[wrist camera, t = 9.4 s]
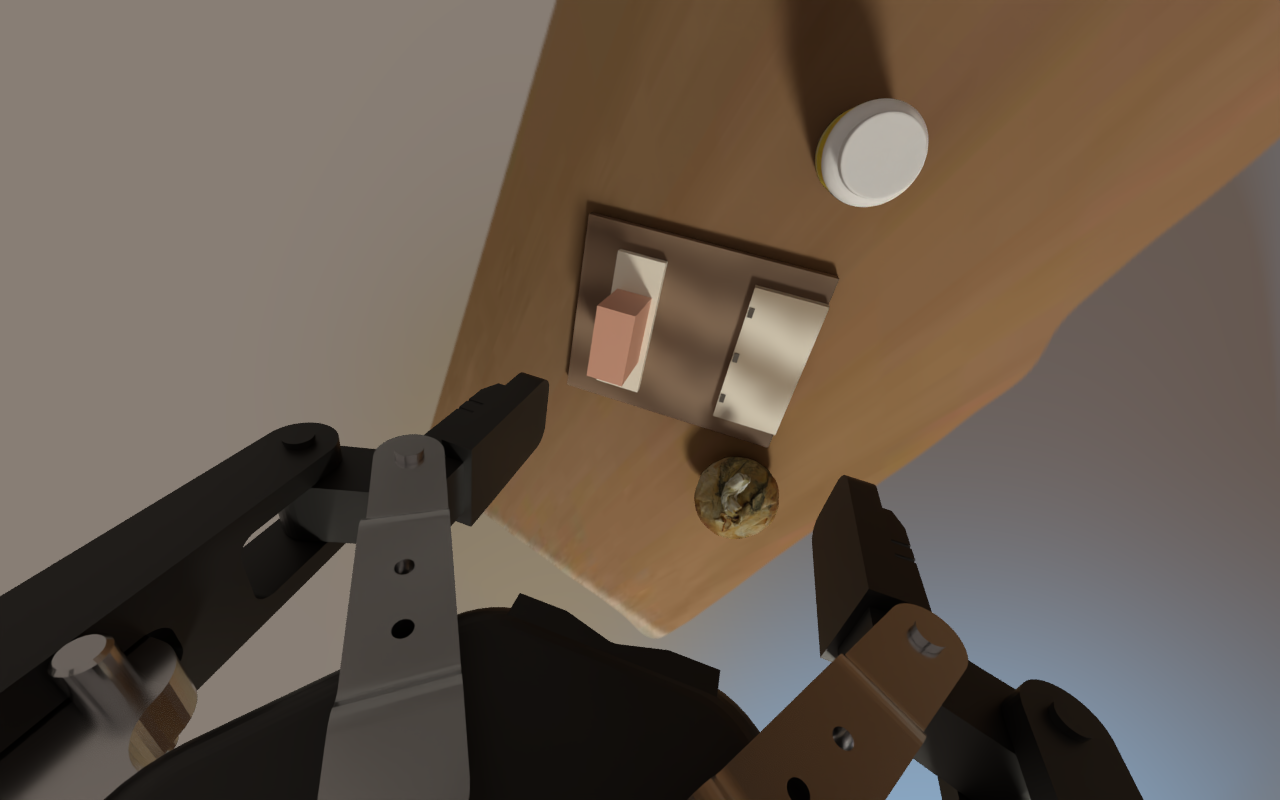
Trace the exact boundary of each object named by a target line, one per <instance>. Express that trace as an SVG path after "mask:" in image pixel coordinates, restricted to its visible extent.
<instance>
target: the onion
mask: <svg viewBox="0 0 1280 800" xmlns="http://www.w3.org/2000/svg"><path fill="white" fill-rule="evenodd" d="M778 499H779V490H778V485H777V483H776V480H775V479H774V478H773V476H772V475H771V473H770V472H769V471H768V470H767V469H766V468H765V467H764V466H762V465H761V464H759V463H758V462H756V461H754V460H751V459H749V458H741V457H726V458H724V459H721V460H719V461H717V462H715V463H713V464H712V465H710V466H709V467H708V468H707V469H706V470H705V471H704V472H703V473H702V474H701V476H700V479H699V482H698V485H697V487H696V491H695V497H694V500H695V507H696V511H697V514H698V516H699V518H700V519H701V521H702V522H703V523H704V525H705V526H706V527H707V528H708V529H710V530H711V531H712V532H714V533H715V534H716V535H718V536H721V537H725V538H730V539H740V538H746V537H749V536H752V535H755V534H757V533H759V532H761V531H762V530H763V529H765V528H766V527H767V526H768V525H770V524H771V523H772V521H773V519H774V518H775V515H776V513H777V510H778V505H779V500H778Z"/></svg>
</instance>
